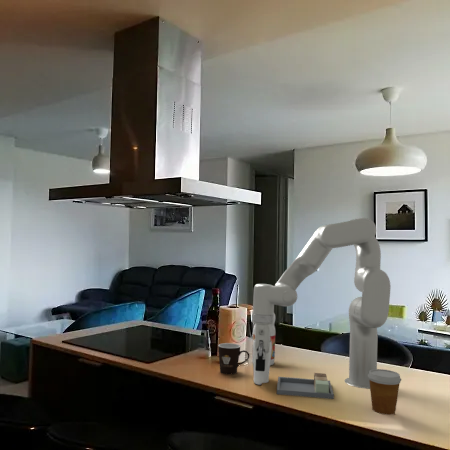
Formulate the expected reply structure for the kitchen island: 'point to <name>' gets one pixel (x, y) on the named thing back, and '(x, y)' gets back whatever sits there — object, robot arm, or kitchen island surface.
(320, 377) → the beech block
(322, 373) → the walnut block
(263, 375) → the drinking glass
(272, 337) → the fruit juice
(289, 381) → the tray
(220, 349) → the coffee mug
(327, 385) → the sage painted block
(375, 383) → the disposable coffee cup
